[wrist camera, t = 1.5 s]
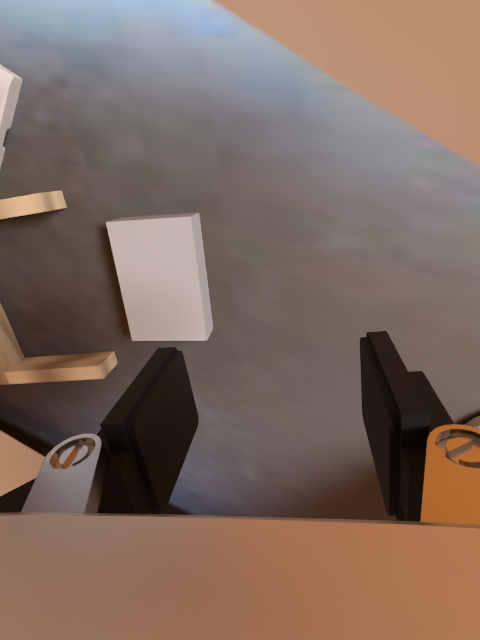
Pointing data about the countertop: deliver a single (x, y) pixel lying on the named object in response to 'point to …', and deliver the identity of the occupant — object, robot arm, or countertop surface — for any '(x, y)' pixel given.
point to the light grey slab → (162, 276)
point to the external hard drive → (7, 102)
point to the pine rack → (3, 349)
